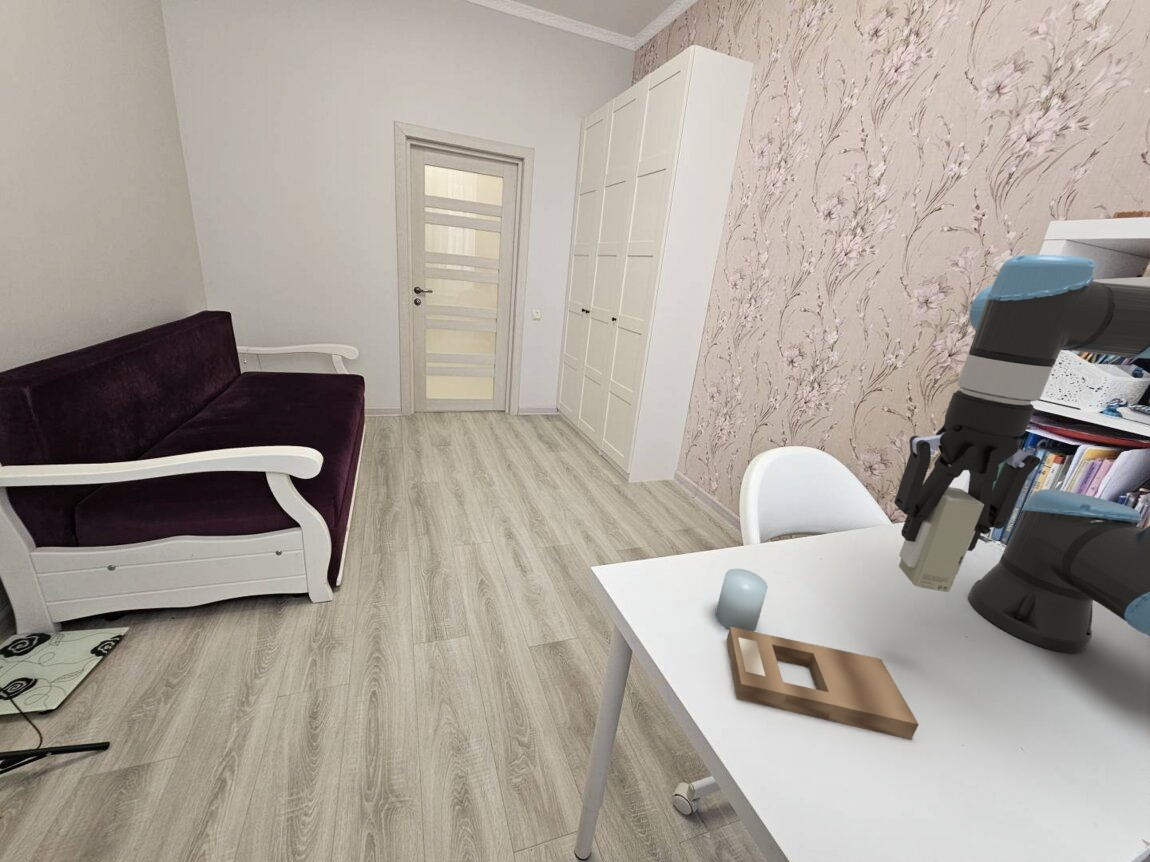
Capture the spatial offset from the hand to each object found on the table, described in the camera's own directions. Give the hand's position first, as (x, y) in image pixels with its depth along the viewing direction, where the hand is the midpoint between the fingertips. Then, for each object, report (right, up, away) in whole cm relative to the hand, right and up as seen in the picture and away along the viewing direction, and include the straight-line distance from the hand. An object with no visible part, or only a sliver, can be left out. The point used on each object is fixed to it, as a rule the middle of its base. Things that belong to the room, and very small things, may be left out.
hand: (927, 564), depth 63 cm
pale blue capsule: (-23, -11, +9) cm, 26 cm away
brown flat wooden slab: (-16, -15, -2) cm, 22 cm away
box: (0, -2, +1) cm, 2 cm away
